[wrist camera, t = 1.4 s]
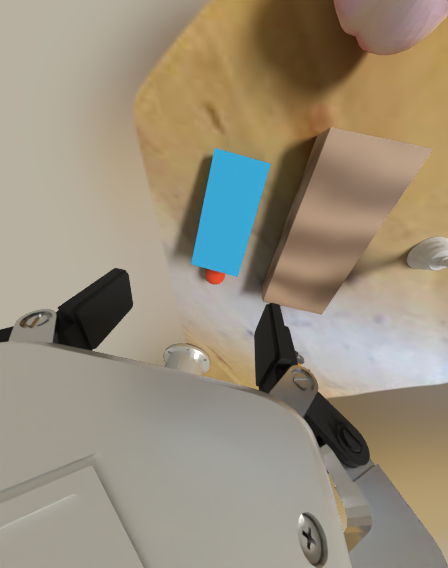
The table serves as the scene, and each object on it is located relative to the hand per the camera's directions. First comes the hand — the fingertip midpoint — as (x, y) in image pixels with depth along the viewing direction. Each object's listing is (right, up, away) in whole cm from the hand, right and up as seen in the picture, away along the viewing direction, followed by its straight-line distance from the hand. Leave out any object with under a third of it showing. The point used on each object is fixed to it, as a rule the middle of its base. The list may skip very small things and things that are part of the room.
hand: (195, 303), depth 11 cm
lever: (+2, +10, +16) cm, 19 cm away
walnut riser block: (+16, +8, +14) cm, 23 cm away
